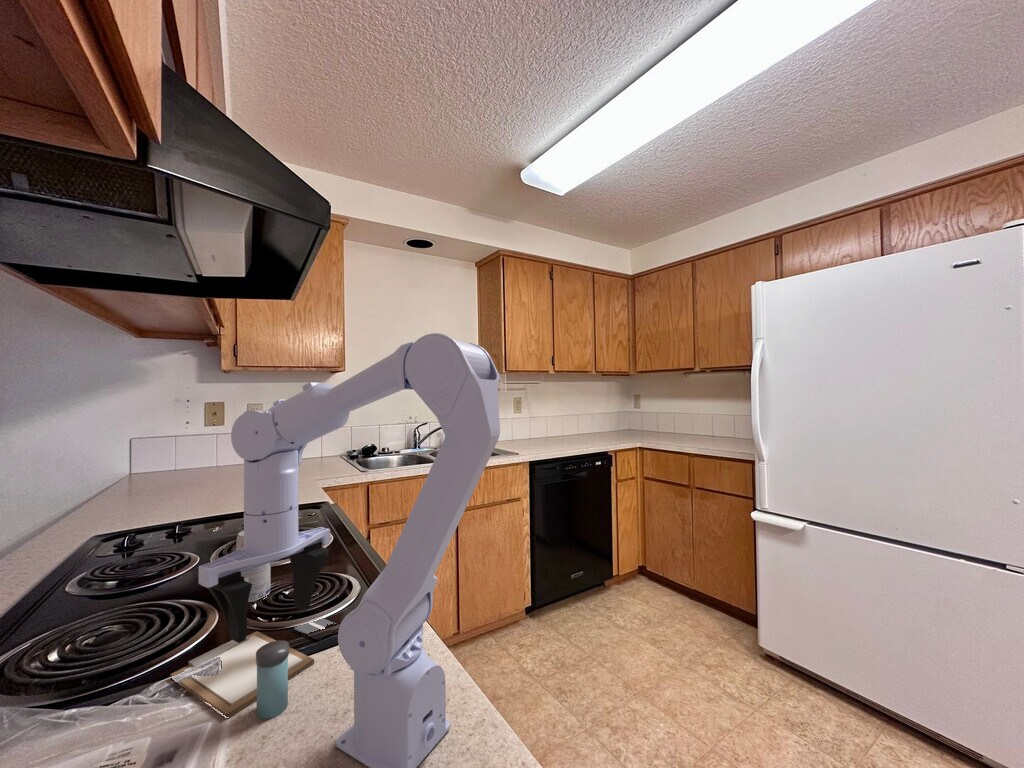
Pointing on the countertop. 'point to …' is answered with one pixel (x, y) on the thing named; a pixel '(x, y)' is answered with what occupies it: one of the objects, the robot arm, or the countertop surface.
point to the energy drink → (256, 576)
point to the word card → (313, 626)
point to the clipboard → (236, 674)
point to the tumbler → (272, 679)
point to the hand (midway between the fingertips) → (272, 622)
